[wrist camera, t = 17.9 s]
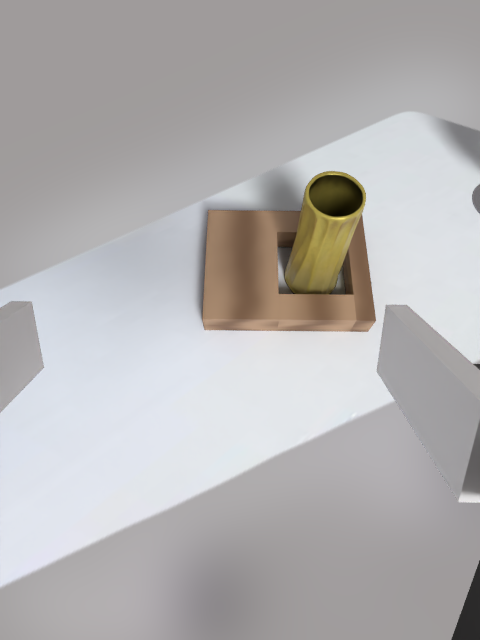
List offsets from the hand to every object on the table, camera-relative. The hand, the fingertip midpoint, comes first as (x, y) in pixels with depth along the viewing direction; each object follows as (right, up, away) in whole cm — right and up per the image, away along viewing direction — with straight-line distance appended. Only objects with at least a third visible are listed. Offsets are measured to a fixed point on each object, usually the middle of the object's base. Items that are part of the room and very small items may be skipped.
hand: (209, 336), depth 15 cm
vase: (+9, +6, +33) cm, 35 cm away
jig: (+6, +6, +33) cm, 34 cm away
